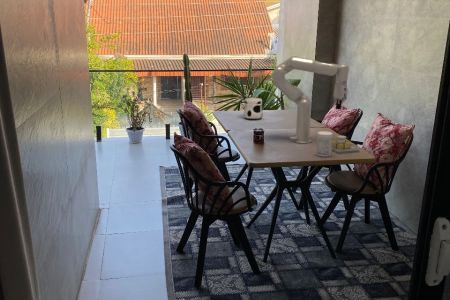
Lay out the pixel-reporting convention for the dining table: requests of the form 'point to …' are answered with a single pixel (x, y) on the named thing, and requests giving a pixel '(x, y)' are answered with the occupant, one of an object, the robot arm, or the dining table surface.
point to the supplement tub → (324, 144)
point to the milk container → (253, 108)
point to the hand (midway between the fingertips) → (338, 109)
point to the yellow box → (341, 146)
